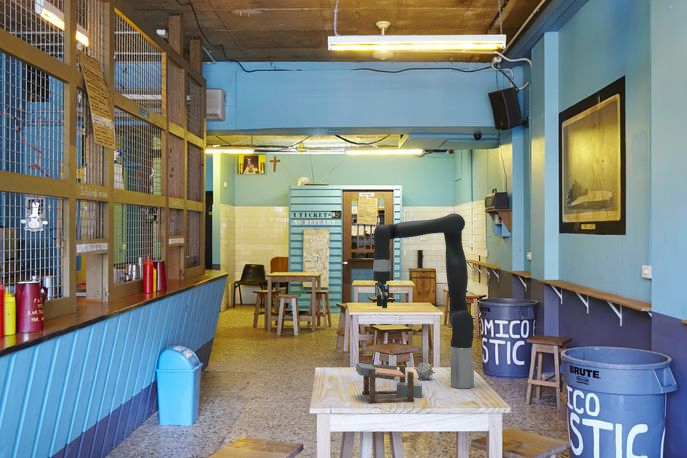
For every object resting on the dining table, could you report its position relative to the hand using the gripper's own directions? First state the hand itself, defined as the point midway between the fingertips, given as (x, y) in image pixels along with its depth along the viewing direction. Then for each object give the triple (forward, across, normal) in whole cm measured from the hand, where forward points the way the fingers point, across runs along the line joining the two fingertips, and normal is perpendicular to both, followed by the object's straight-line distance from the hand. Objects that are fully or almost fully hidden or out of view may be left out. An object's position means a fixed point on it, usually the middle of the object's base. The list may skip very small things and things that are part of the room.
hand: (381, 307), depth 267 cm
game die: (+34, +8, -23) cm, 42 cm away
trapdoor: (+25, -21, +7) cm, 33 cm away
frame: (+34, -21, +4) cm, 40 cm away
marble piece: (+35, +22, -6) cm, 41 cm away
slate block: (+32, -20, -6) cm, 38 cm away
